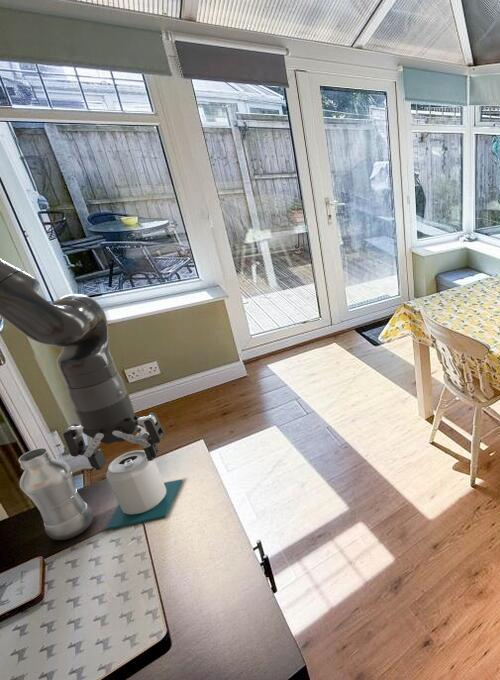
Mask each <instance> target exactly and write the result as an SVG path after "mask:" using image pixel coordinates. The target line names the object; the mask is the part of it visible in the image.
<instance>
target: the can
mask: <svg viewBox="0 0 500 680" xmlns="http://www.w3.org/2000/svg"><path fill="white" fill-rule="evenodd" d="M105 477H106V480H107V481H108V484H109V485H110V487H111V490H112V492H113V494H114V496H115V497H116V498H115V499H116V500H117V503H118V504H119V505H120V507H121V509H122V511H123V512H124V513H126V514H139V513H143V512H146V511H148V510H150V509H152V508H154V507H155V506H156V505H158V504H159V503H160V501H161V500H162V499H163V498H164V497H165V495H166V487H165V485H164V483H165V482H164V480H163V477H162V475H161V473H160V470H159V468H158V465H157V463H156V460H155V459H154V460H152V461H148V459H147V457H146V454H145V452H144V449H143V450H141V449H138V450H131V451H128V452H126V453H123V454H121V455H118V457H116V458H115V459H113V460H112V461H111V462H110V463H109V465H108V466H107V472H106V474H105ZM119 505H118V506H119Z"/></svg>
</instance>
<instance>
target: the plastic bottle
mask: <svg viewBox="0 0 500 680" xmlns="http://www.w3.org/2000/svg"><path fill="white" fill-rule="evenodd" d="M18 463H19V464H20V468H21V469H22V470H24V471H23V472H22V475H21V476H20V479H19V488H20V490H21V491H22V492H23V493H24V494H26V496H27V497H28V498H29V499H30V500H31V501H32V502H33V504H34V505H35V507H36V508H37V510H38V511H39V513H40V516H41V519H42V521H43V527H44V531H45V534H46V535H47V536H48V537H49V538H51V540H56V541H65V540H70V539H72V538H75V537H76V536H78V535H80V534H82V533H83V532H84V531H86V530H88V528H89V527H90V525H91V524H92V522H93V520H94V513H93V509H92V507H90V505H89V504H88V503H86V502H85V501H84V499H83V497H82V496H81V495H80V494H79V492H78V490H77V487H76V485H75V482H74V479H73V473H72V469H71V467H70V465H69V464H68V463H67V462H65V461H63V460H60V459H57V458H53V455H52V453H50V451H49V449H47V447H39V448H35V449H32V450H29V451H27V452H25V453H23V454H22V455H21V456H20V457H19V458H18Z"/></svg>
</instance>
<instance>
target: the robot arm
mask: <svg viewBox="0 0 500 680" xmlns="http://www.w3.org/2000/svg"><path fill="white" fill-rule="evenodd" d="M40 286H41V285H40V282H39V280H38V279H37V278H36V277H34V276H32V275H31V274H29V273H27V272H25V271H24V270H22V269H20V268H18V267H16V266H14V265H12V264H10V263H8V262H6V261H5V260H3V259H2V258H0V317H1V318H2V319H3V320H5V322H7V323H8V324H10V325H11V326H12V327H13V328H14V329H16V330H17V331H18V332H20V333H21V334H22V335H24V336H25V337H27V338H29V339H30V340H31V341H34V342H36V343H38V344H42V345H45V346H48V347H49V346H50V347H57V348H62V349H61V351H60V353H59V355H58V356H57V359H56V367H57V370H58V372H59V374H60V377H61V378H62V380H63V383H64V385H65V388H66V392H67V397H68V399H69V401H70V404H71V406H72V408H73V410H74V412H75V414H76V417H77V419H78V421H79V422H80V425H79V424H77V423H72V424H71V425H69V427H68V428H67V429H66V430H65V431H64V433H62V435H63V438H64V441H65V443H66V446H67V449H68V451H69V454H70V456H71V457H73V458H76V457H79V456H83V457H84V458H87V461H88V462H89V465H90V467H91V468H93V469H95V470H96V471H100V470H103V468H104V467H105V466H106V465H107V460H106V457H105V456H104V454H103V451H102V449H101V448H99V447H100V445H101V443H103V444H104V445H108V444H112V443H120V442H121V443H123V442H126V441H127V442H128V443H131V444H133V445H134V444H135V445H137V444H138V445H139V446H141V447H143V448H142V449H143V451H144V452H145V454H146V457H147V459H148V461H152V460H155V458H156V457H157V456H158V454H159V447H158V444H159V443H160V442H161V441H162V439H163V437H164V436H165V430H164V428H163V425H162V423H161V421H160V419H159V417H158V415H157V413H156V412H150V413H149V414H148V415H146V416H141V417H139V416H138V415H136V414H135V410H134V406H133V402H132V401H131V398H130V395H129V393H128V390H127V387H126V385H125V382H124V380H123V378H122V376H121V374H120V373H119V372H118V368H117V366H116V364H115V361H114V358H113V357H112V355H111V352H110V335H109V325H108V320H107V319H108V318H107V316H106V313H105V311H104V309H103V308H102V306H101V305H100V303H98V301H96V300H95V299H93V298H91V297H90V296H87V295H85V294H80V293H79V294H78V293H73V294H67V295H64V296H61V297H59V298H57V299H55V300H54V301H52V302H50V301H48V300H46V299H45V298H44V297H43V296H41V295H40V294H39V293H37V292H38V291H39V289H40ZM134 433H135V435H134ZM83 434H84V435H85V436H87V437H90V438H92V440H91V442H90V443H89V444H88V445H87V444H86V442H85V440H84V436H83Z"/></svg>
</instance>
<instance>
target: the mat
mask: <svg viewBox="0 0 500 680" xmlns="http://www.w3.org/2000/svg"><path fill="white" fill-rule="evenodd" d="M182 483H183V479H175V480H171V481H167V482H164V485H165V487H166V495H165V497H164V498H163V499H162V500H161V501H160V503H159V504H158V505H156V506H155V507H154V508H152V509H150V510H148V511H146V512H143V513H139V514H126V513H124V512H123V511H122V509H121V507H120V505H118V507H117V508H116V510H115V512H114V514H113V515H112V517H111V519H110V520H109V522H108V523H107V525H106V527H105V530H106V531H110V530H115V529H120V528H124V527H128V526H133V525H137V524H143V523H146V522H147V523H148V522H150V521H156V520H161V519H163V518H164V519H165V518H167V515H168V514H169V511H170V509H171V507H172V504H173V502H174V501H175V498H176V496H177V494H178V492H179V489H180V487H181V486H182Z"/></svg>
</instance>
